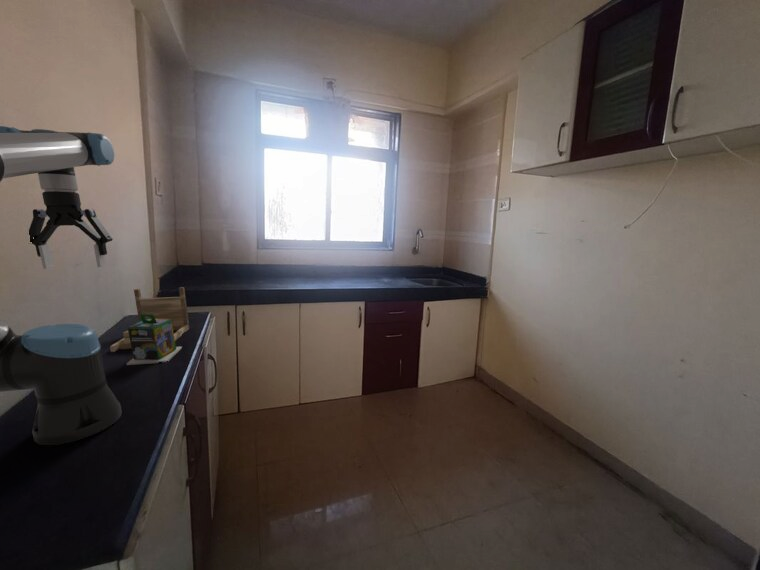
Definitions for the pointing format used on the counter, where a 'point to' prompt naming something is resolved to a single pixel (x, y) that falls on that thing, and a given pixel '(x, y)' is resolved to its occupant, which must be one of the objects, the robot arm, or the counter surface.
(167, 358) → the felt mat
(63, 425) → the robot arm
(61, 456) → the counter surface
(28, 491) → the counter surface
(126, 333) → the offcut stack
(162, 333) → the chalk box
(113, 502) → the counter surface
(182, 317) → the rack
